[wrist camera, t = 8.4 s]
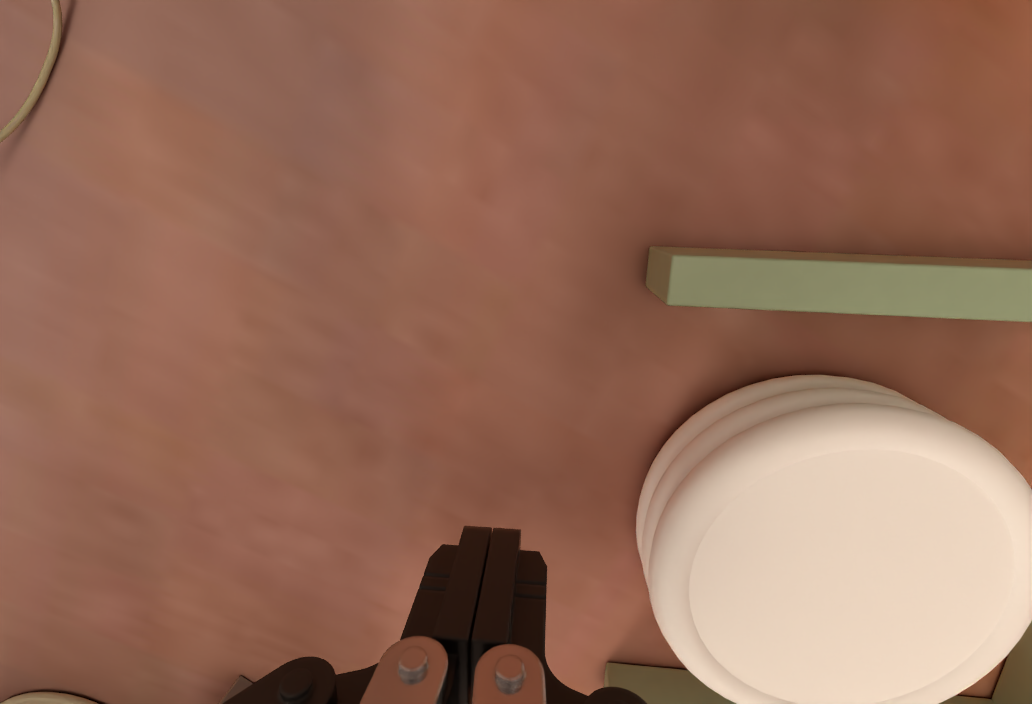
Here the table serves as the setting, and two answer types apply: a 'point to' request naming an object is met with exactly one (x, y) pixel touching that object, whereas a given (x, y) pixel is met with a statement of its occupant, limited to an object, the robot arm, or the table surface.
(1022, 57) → the table surface
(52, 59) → the eyeglasses
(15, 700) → the can
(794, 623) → the coaster
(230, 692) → the dice cube
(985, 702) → the green u-shaped frame
